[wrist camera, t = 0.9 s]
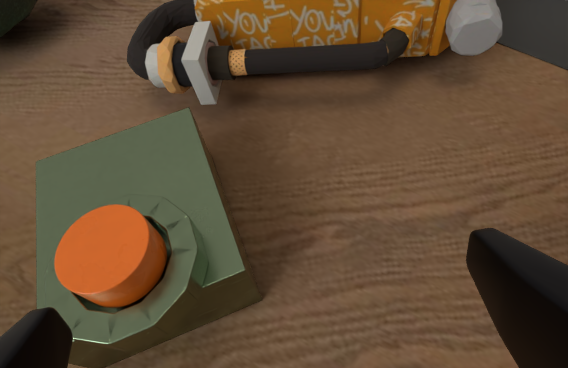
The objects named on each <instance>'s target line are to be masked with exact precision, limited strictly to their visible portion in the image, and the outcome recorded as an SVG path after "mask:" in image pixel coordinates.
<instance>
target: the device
mask: <svg viewBox="0 0 568 368" xmlns="http://www.w3.org/2000/svg"><path fill="white" fill-rule="evenodd" d="M190 25H194V27H193V29H192V32H191V35H190V37H189V40H188V43H185V42H184V41H183V40H182V39H180V38H179V37H178V36H171V37H168V36H169V35H170V34H172V33H173V32H174V31H176V30H177V29H179V28H182V27H186V26H190ZM501 36H502V20H501V13H500V10H499V7H498V6H497V3H496V0H173V1H170V2H167V3H164V4H162V5H161V6H159V7H158V8H156V9H155V10H153V11H152V12H150V13H149V14H148V15H147V16H146V17H145V19H144V20H143V21H142V22H141V23H140V24H139V26H138V28H137V29H136V31H135V33H134V35H133V36H132V39H131V41H130V44H129V46H128V51H127V62H128V64H129V66H130V67H131V68H132V70H133V71H134V72H135V73H136V74H137V75H139V76H140V77H142V78H144V79H147V80H150V81H151V82H152V83H153V85H155V86H156V87H158V88H161V87H166V88H167V90H168V91H169V92H171V93H180V94H183V93H184V92H186V91H187V90H188V89H189V88H190V87H191V86H193V88H194V90H195V92H196V95H197V97H198V99H199V101H200V103H201V105H208V104H216V103H217V99H218V95H219V91H220V87H221V83H222V80H234V79H235V77H236V75H249V74H270V73H293V72H316V71H339V70H362V69H376V68H378V67H381V66H383V65H384V66H387V65H388V64H390V63H391V62H392V61H394V60H395V59H397V58H398V57H412V56H425V55H426V54H428V53H429V54H430V56H432V55H438V54H439V53H441V52H442V51H443V50H444V49H446V48H447V47H448V46H451V50H452V51H454V52H456V53H458V54H460V55H470V56H474V55H478V54H480V53H482V52H484V51H486V50H488V49H490V48H491V47H492V46H493V45H494V44H495V43H496V42H497V41H498V40H499V38H500V37H501Z"/></svg>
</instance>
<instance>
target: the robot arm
mask: <svg viewBox="0 0 568 368" xmlns="http://www.w3.org/2000/svg"><path fill="white" fill-rule="evenodd" d="M466 263H467V267H468V270H469V272H470V274H471V276H472V278H473V280H474V282H475V285H476V287H477V289H478V291H479V293H480V295H481V297H482V299H483V302H484V304H485V306H486V308H487V310H488V312H489V314H490V316H491V319H492V321H493V323H494V325H495V327H496V329H497V331H498V333H499V335H500V337H501V338H502V340H503V342H504V344H505V345H506V347H507V349H508V350H509V352H510V354H511V355H512V357H513V359H514V360H515V362H516V363H517V365H518V367H519V368H568V265H566V264H564V263H562V262H560V261H558V260H556V259H554V258H552V257H550V256H548V255H546V254H544V253H542V252H540V251H538V250H536V249H534V248H532V247H530V246H528V245H526V244H524V243H522V242H520V241H518V240H516V239H514V238H512V237H510V236H508V235H506V234H504V233H502V232H500V231H498V230H496V229H494V228H485V229H479V230H474V231H472V232H471V234H470V237H469V243H468V250H467V256H466ZM72 341H73V335H72V331H71V329H70V327H69V326H68V325H67V323H66V322H65V321H64V319H63V318H62V317H61V315H60V314H59V313H58V311H57V310H56V309H54V308H52V307H47V308H41V309H36V310H32V311H30V312H29V313H27V314H26V315H25V316H24V317H23V318H22V319H21V320H19V321H18V322H17V323H16V324H15V325H14V326H12V327H11V328H10V329H9V330H8V331H7V332H6V333H4V334H3V335H2V336H1V337H0V368H67V366H68V361H69V356H70V351H71V346H72Z"/></svg>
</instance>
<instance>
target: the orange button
mask: <svg viewBox="0 0 568 368" xmlns="http://www.w3.org/2000/svg"><path fill="white" fill-rule="evenodd" d="M166 259H167V249H166V245H165V242H164V240H163V238H162V236H161V235H160V234H159V233H158V231H157V230H156V229H155V228H154V227H153V226H152V225H151V224H150V223H149V222H148V221H147V219H146V218H145V217H144V216H143V215H142V214H141V213H140V212H139V211H137V210H136V209H134V208H132V207H129V206H126V205H118V204H114V205H106V206H102V207H99V208H96V209H94V210H92V211H90V212H88V213H86V214H85V215H83V216H82V217H80V218H79V219H78V220H77V221H76V222H74V223H73V224H72V225H71V226H70V228H69V229H68V230H67V231H66V233H65V234H64V235H63V237H62V239H61V241H60V243H59V245H58V247H57V250H56V254H55V263H54V265H55V272H56V275H57V277H58V279H59V281H60V282H61V284H62V285H63V286H64V287H65V288H67V289H68V290H70V291H72V292H74V293H76V294H77V295H79V296H81V297H83V298H85V299H87V300H89V301H91V302H93V303H95V304H97V305H100V306H103V307H110V308H115V307H122V306H126V305H129V304H131V303H133V302H136V301H137V300H139V299H141V298H142V297H143V296H145V295H146V294H147V293H148V292H149V291H150V290H151V289H152V288H153V287H154V286H155V285H156V284H157V282H158V281H159V279H160V277H161V275H162V273H163V271H164V268H165V265H166Z"/></svg>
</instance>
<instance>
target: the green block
mask: <svg viewBox="0 0 568 368" xmlns="http://www.w3.org/2000/svg"><path fill="white" fill-rule="evenodd" d="M114 204H118V205H126V206H129V207H132V208H134V209H136V210H137V211H139V212H140V213H141V214H142V215H143V216H144V217H145V218H146V219H147V221H148V222H149V223H150V224H151V225H152V226H153V227H154V228H155V229H156V230H157V231H158V233H159V234H160V235H161V236H162V238H163V240H164V242H165V245H166V249H167V259H166V265H165V268H164V271H163V273H162V275H161V277H160V279H159V281H158V282H157V284H156V285H155V286H154V287H153V288H152V289H151V290H150V291H149V292H148V293H147V294H146V295H145V296H143V297H142V298H141V299H139V300H137V301H136V302H133V303H131V304H129V305H126V306H122V307H115V308H110V307H103V306H100V305H97V304H95V303H93V302H91V301H89V300H87V299H85V298H83V297H81V296H79V295H77V294H76V293H74V292H72V291H70V290H68V289H67V288H65V287H64V286H63V285H62V284H61V282H60V281H59V279H58V277H57V275H56V272H55V265H54V263H55V254H56V250H57V247H58V245H59V243H60V241H61V239H62V237H63V235H64V234H65V233H66V231H67V230H68V229H69V228H70V226H71V225H72V224H73V223H74V222H76V221H77V220H78V219H79V218H80V217H82V216H83V215H85V214H86V213H88V212H90V211H92V210H94V209H96V208H99V207H102V206H106V205H114ZM36 269H37V309H41V308H47V307H52V308H54V309H56V310H57V311H58V313H59V314H60V315H61V317H62V318H63V319H64V321H65V322H66V323H67V325H68V326H69V327H70V329H71V331H72V335H73V341H72V346H71V351H70V356H69V361H68V363H69V364H73V365H78V366H82V367H87V368H104V367H106V366H109V365H111V364H113V363H116V362H118V361H120V360H123V359H125V358H127V357H130V356H132V355H134V354H137V353H139V352H142V351H144V350H146V349H149V348H151V347H153V346H156V345H158V344H160V343H163V342H165V341H167V340H170V339H172V338H174V337H177V336H179V335H182V334H184V333H186V332H189V331H191V330H193V329H196V328H198V327H200V326H203V325H205V324H207V323H210V322H212V321H214V320H217V319H219V318H221V317H224V316H226V315H229V314H231V313H233V312H236V311H238V310H240V309H243V308H245V307H247V306H250V305H252V304H254V303H257V302H259V301H261V300H262V297H261V294H260V291H259V288H258V286H257V283H256V280H255V277H254V274H253V272H252V269H251V266H250V263H249V260H248V258H247V255H246V252H245V249H244V246H243V244H242V241H241V238H240V235H239V232H238V230H237V227H236V224H235V221H234V218H233V216H232V213H231V210H230V207H229V204H228V202H227V199H226V196H225V193H224V190H223V188H222V185H221V182H220V179H219V176H218V174H217V171H216V168H215V165H214V162H213V160H212V157H211V154H210V152H209V150H208V148H207V145H206V143H205V141H204V139H203V137H202V134H201V132H200V130H199V128H198V126H197V123H196V121H195V119H194V117H193V115H192V112H191V110H190V108H186V109H183V110H180V111H177V112H174V113H171V114H169V115H166V116H163V117H160V118H157V119H155V120H152V121H149V122H146V123H143V124H140V125H138V126H135V127H132V128H129V129H126V130H124V131H121V132H118V133H115V134H112V135H109V136H107V137H104V138H101V139H98V140H95V141H93V142H90V143H87V144H84V145H81V146H78V147H76V148H73V149H70V150H67V151H64V152H62V153H59V154H56V155H53V156H50V157H47V158H45V159H42V160H39V161H36Z"/></svg>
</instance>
